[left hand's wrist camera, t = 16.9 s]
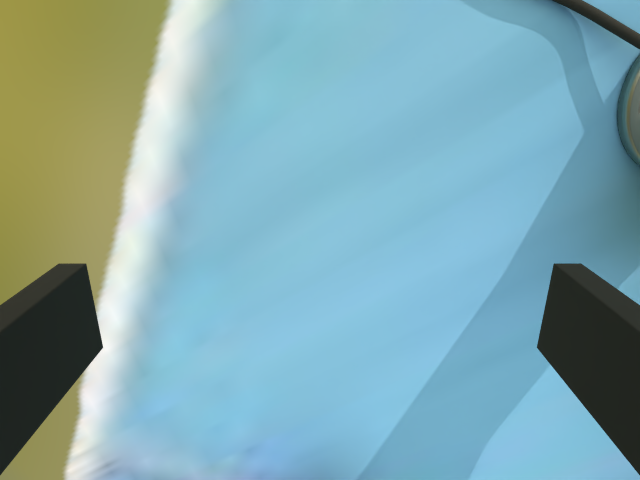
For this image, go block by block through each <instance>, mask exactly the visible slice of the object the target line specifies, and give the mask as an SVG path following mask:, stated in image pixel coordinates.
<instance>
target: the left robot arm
mask: <svg viewBox="0 0 640 480" xmlns="http://www.w3.org/2000/svg"><path fill="white" fill-rule="evenodd" d="M553 1H555V2H557V3H559V4H562V5H564V6H566V7H568V8H570V9H572V10H574V11H576V12H577V13H579V14H581V15H583V16H585V17H587V18H588V19H590V20H592V21H593V22H595V23H597V24H598V25H600V26H602V27H603V28H605V29H607V30H608V31H610V32H612V33H613V34H615V35H617V36H618V37H620V38H622V39H623V40H625V41H627V42H628V43H630V44H632V45H633V46H635V47H637V48H638V49H640V34H639V33H637V32H635V31H634V30H632V29H630V28H629V27H627V26H625V25H624V24H622V23H620V22H619V21H617V20H615V19H614V18H612V17H610V16H609V15H607V14H605V13H604V12H602V11H600V10H599V9H597V8H595V7H593V6H592V5H590V4H588V3H586V2H584V1H582V0H553ZM617 119H618V129H619V134H620V137H621V141H622V143H623V145H624V147H625V149H626V151H627V153H628V154H629V155H630V157H631V158H632V159H633V160H634V161H635V162H636V163H637V164H638V165H639V166H640V55H639V56H638V58H637V59H636V60H635V62H634V64H633V65H632V67H631V69H630V71H629V73H628V75H627V77H626V79H625V82H624V84H623V87H622V91H621V94H620V98H619V104H618V118H617ZM102 348H103V345H102V340H101V335H100V330H99V325H98V320H97V315H96V310H95V305H94V300H93V296H92V290H91V285H90V280H89V276H88V271H87V266H86V264H58V265H56V266H55V267H54V268H52V269H51V270H49V271H48V272H47V273H45V274H44V275H42V276H41V277H39V278H38V279H37V280H35V281H34V282H32V283H31V284H30V285H28V286H27V287H25V288H24V289H23V290H21V291H20V292H18V293H17V294H16V295H14V296H13V297H11V298H10V299H9V300H7V301H6V302H4V303H3V304H2V305H0V475H1V474H2V472H3V471H4V470H5V469H6V467H7V466H8V465H9V464H10V462H11V461H12V460H13V459H14V457H15V456H16V455H17V454H18V452H19V451H20V450H21V449H22V448H23V446H24V445H25V444H26V443H27V441H28V440H29V439H30V438H31V436H32V435H33V434H34V433H35V431H36V430H37V429H38V428H39V426H40V425H41V424H42V423H43V421H44V420H45V419H46V418H47V416H48V415H49V414H50V413H51V411H52V410H53V409H54V408H55V406H56V405H57V404H58V403H59V401H60V400H61V399H62V398H63V397H64V395H65V394H66V393H67V392H68V390H69V389H70V388H71V387H72V385H73V384H74V383H75V382H76V380H77V379H78V378H79V377H80V375H81V374H82V373H83V372H84V370H85V369H86V368H87V367H88V366H89V364H90V363H91V362H92V361H93V359H94V358H95V357H96V356H97V354H98V353H99V352H100V351H101V349H102ZM537 348H538V349H539V351H540V352H541V353H542V354H543V356H544V357H545V358H546V359H547V361H548V362H549V363H550V364H551V366H552V367H553V368H554V369H555V370H556V372H557V373H558V374H559V375H560V377H561V378H562V379H563V380H564V382H565V383H566V384H567V385H568V387H569V388H570V389H571V390H572V392H573V393H574V394H575V395H576V397H577V398H578V399H579V400H580V402H581V403H582V404H583V405H584V407H585V408H586V409H587V410H588V411H589V413H590V414H591V415H592V416H593V418H594V419H595V420H596V421H597V423H598V424H599V425H600V426H601V428H602V429H603V430H604V431H605V433H606V434H607V435H608V436H609V438H610V439H611V440H612V441H613V443H614V444H615V445H616V446H617V448H618V449H619V450H620V451H621V453H622V454H623V455H624V456H625V457H626V459H627V460H628V461H629V462H630V464H631V465H632V466H633V467H634V469H635V470H636V471H637V472H638V474H639V475H640V305H639V304H637V303H636V302H634V301H633V300H631V299H630V298H629V297H627V296H626V295H624V294H623V293H622V292H620V291H619V290H617V289H616V288H615V287H613V286H612V285H610V284H609V283H608V282H606V281H605V280H603V279H602V278H601V277H599V276H598V275H596V274H595V273H594V272H592V271H591V270H589V269H588V268H587V267H585V266H584V265H582V264H554V266H553V271H552V275H551V280H550V285H549V290H548V295H547V300H546V305H545V310H544V315H543V320H542V325H541V330H540V335H539V340H538V345H537Z"/></svg>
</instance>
